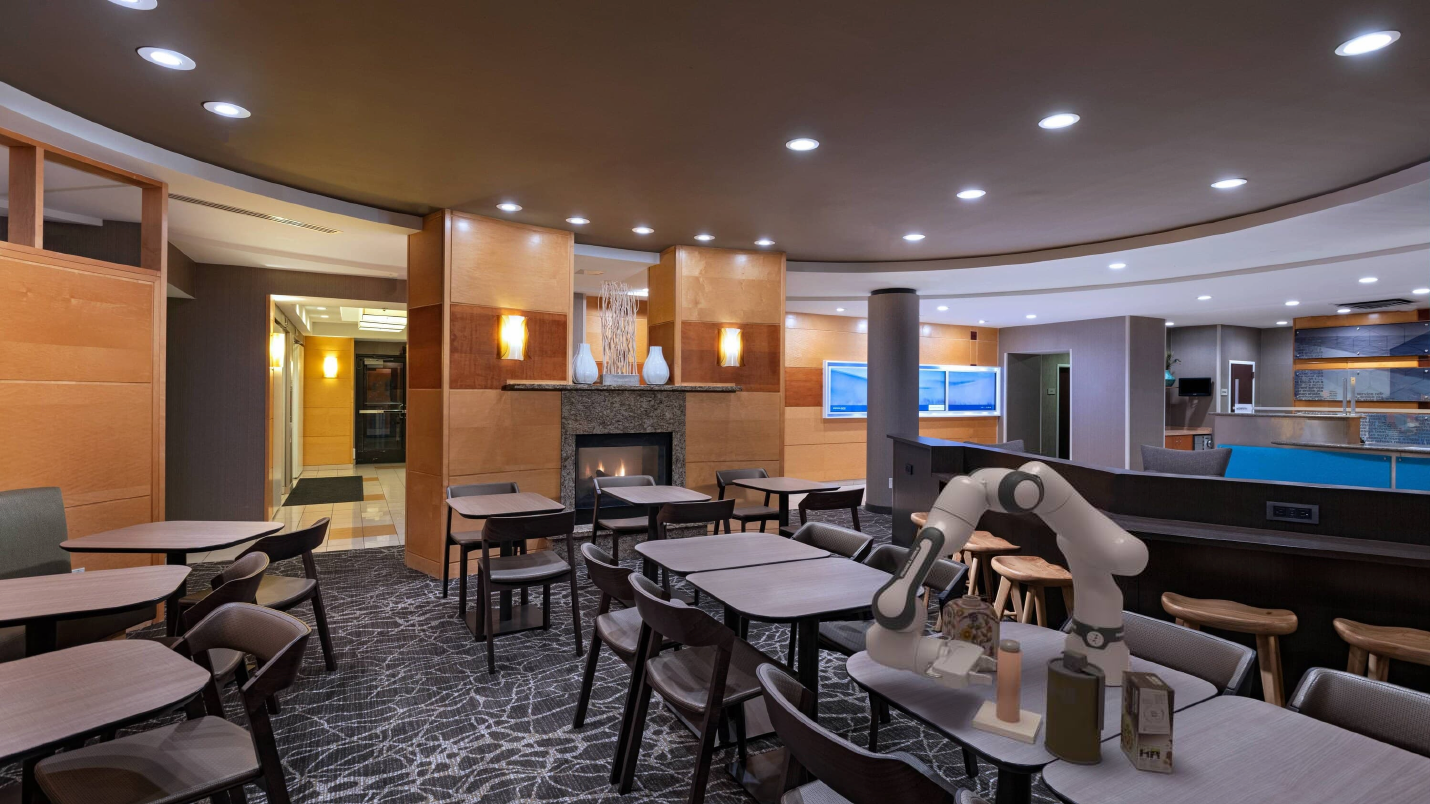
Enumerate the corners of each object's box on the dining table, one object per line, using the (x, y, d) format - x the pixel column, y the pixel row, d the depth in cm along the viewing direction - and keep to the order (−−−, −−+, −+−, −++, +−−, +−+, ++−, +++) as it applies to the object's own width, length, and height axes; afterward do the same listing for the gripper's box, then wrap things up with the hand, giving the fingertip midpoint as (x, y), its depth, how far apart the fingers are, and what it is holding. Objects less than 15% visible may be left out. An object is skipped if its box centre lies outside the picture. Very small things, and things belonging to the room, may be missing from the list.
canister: (1033, 745, 141) (1036, 649, 141) (1064, 733, 146) (1067, 641, 146) (1083, 771, 132) (1086, 668, 132) (1115, 758, 137) (1118, 659, 137)
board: (985, 706, 158) (985, 700, 158) (1042, 721, 152) (1042, 714, 152) (972, 727, 148) (972, 720, 148) (1032, 744, 142) (1033, 736, 142)
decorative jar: (999, 672, 178) (1001, 604, 178) (954, 671, 179) (957, 602, 178) (982, 655, 190) (984, 590, 190) (940, 653, 191) (942, 589, 190)
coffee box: (1173, 774, 132) (1176, 691, 131) (1136, 769, 133) (1139, 687, 133) (1153, 750, 141) (1155, 672, 140) (1118, 746, 142) (1121, 668, 142)
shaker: (998, 710, 153) (1000, 636, 153) (1021, 716, 151) (1023, 641, 151) (993, 718, 149) (996, 643, 149) (1017, 724, 147) (1019, 648, 147)
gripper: (920, 658, 150) (987, 674, 142) (946, 632, 167) (1006, 645, 159) (919, 687, 150) (986, 704, 143) (945, 658, 167) (1005, 672, 160)
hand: (997, 673), depth 151 cm, fingers open, 8 cm apart
